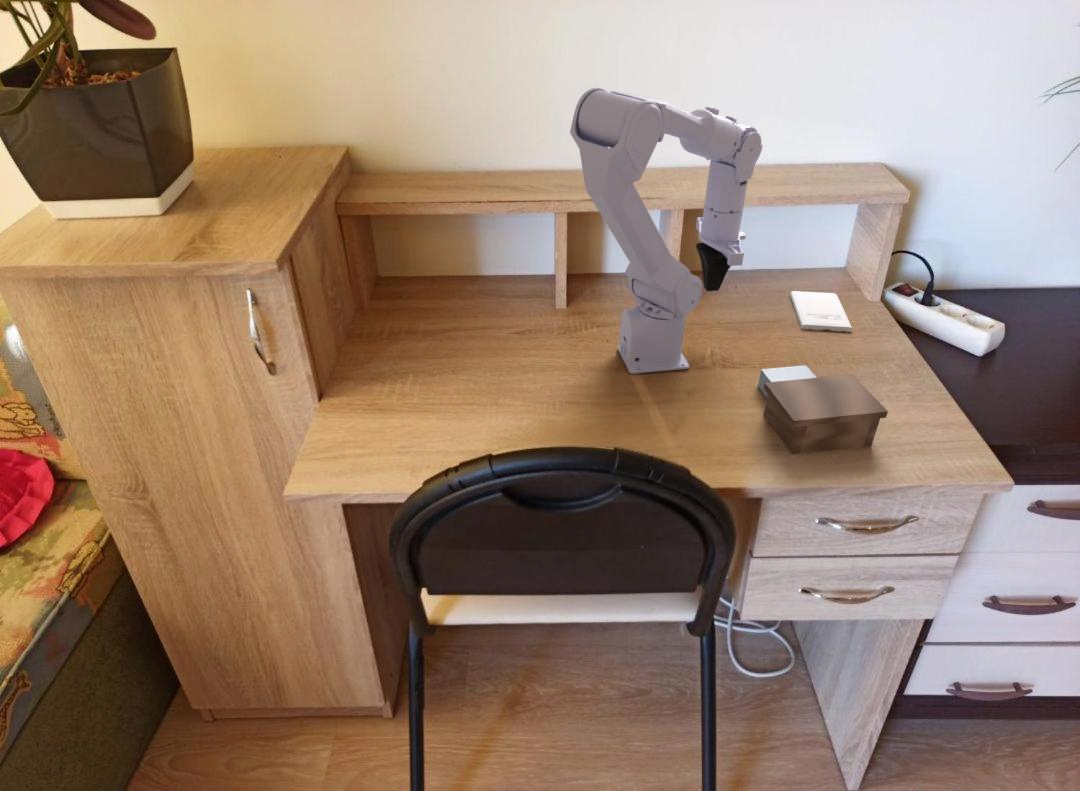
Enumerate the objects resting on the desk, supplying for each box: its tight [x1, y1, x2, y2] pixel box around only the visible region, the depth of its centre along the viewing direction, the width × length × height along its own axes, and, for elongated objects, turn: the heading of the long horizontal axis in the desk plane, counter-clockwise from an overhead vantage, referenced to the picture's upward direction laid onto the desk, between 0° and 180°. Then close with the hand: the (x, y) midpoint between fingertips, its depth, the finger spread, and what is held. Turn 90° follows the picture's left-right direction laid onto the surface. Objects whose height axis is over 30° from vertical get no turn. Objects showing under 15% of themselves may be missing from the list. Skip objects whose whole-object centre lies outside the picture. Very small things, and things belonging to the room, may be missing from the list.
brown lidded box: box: [763, 374, 889, 455], centre depth 102 cm, size 13×9×6 cm
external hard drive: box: [789, 290, 853, 333], centre depth 132 cm, size 2×8×12 cm
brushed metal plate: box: [757, 364, 818, 399], centre depth 107 cm, size 7×14×3 cm, turn 10°
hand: (711, 289), depth 121 cm, fingers closed
